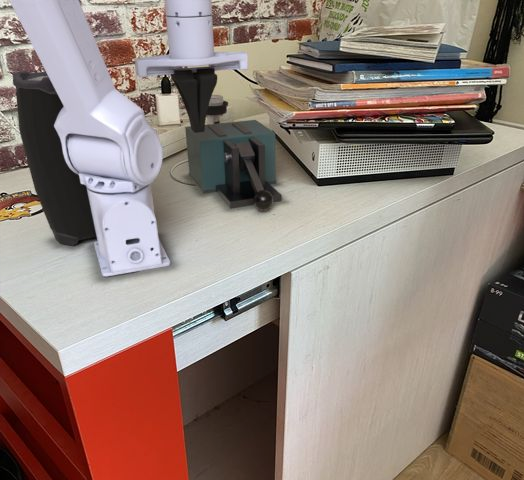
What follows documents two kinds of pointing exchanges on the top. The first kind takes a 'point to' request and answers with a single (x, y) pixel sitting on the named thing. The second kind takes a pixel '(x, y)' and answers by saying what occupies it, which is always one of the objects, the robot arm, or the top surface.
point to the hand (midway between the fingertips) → (197, 130)
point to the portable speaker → (51, 160)
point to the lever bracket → (233, 189)
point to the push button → (216, 109)
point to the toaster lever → (253, 176)
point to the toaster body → (212, 151)
